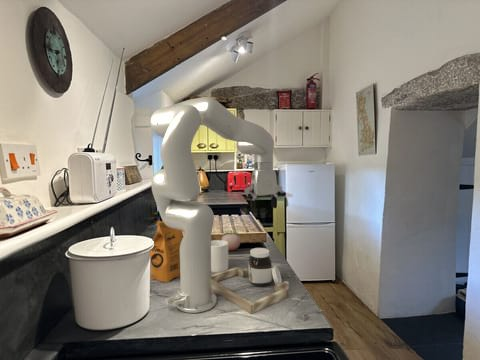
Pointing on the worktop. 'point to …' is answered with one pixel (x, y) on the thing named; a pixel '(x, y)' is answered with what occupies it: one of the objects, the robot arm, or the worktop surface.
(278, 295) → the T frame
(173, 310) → the worktop surface
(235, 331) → the worktop surface
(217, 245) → the mug
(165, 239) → the coffee package
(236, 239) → the decorative fruit
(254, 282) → the spread jar
